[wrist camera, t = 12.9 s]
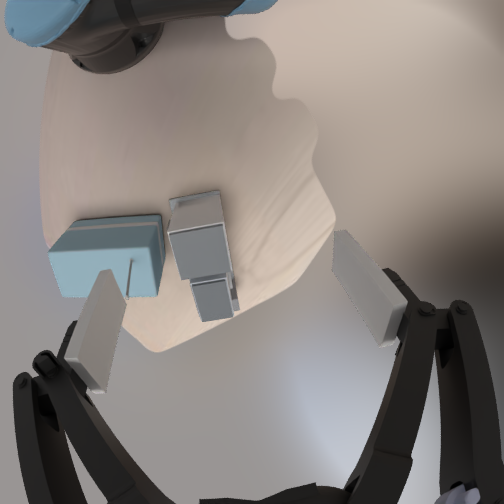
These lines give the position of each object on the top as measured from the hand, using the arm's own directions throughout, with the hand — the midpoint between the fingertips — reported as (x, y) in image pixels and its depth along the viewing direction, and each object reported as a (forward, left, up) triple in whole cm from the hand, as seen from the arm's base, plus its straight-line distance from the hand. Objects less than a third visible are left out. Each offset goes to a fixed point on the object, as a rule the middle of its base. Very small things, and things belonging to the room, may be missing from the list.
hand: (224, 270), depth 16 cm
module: (+16, -3, -26) cm, 31 cm away
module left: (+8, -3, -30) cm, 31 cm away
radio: (+10, -18, -30) cm, 36 cm away
